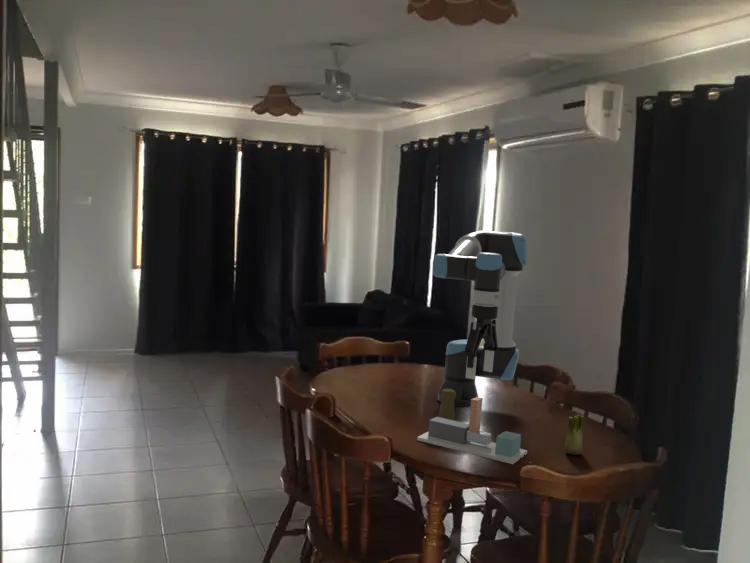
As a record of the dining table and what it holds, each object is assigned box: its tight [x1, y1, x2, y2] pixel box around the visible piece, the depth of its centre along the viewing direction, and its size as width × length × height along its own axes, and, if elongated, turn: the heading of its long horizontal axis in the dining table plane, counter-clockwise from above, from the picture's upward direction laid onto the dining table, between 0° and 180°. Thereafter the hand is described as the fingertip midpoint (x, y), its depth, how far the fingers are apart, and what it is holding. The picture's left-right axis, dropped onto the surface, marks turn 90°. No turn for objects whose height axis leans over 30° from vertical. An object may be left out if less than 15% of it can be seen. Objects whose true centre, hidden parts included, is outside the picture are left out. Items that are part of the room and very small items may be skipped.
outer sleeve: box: [427, 416, 469, 444], centre depth 222 cm, size 12×5×5 cm, turn 59°
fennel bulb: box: [564, 414, 585, 456], centre depth 218 cm, size 6×5×12 cm
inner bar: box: [465, 396, 492, 446], centre depth 219 cm, size 16×4×13 cm, turn 59°
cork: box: [437, 389, 456, 421], centre depth 243 cm, size 6×6×11 cm
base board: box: [416, 430, 528, 465], centre depth 218 cm, size 31×12×1 cm, turn 59°
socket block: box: [495, 430, 522, 457], centre depth 212 cm, size 5×7×5 cm
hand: (479, 374), depth 216 cm, fingers open, 13 cm apart
